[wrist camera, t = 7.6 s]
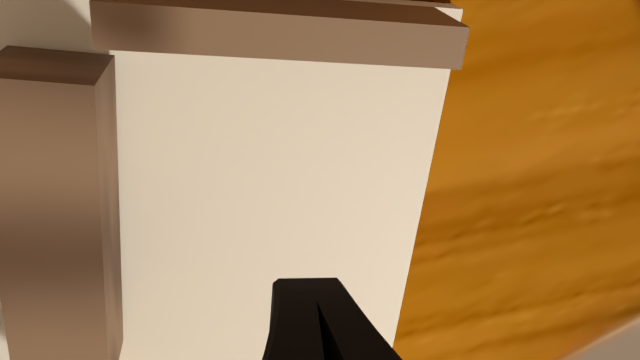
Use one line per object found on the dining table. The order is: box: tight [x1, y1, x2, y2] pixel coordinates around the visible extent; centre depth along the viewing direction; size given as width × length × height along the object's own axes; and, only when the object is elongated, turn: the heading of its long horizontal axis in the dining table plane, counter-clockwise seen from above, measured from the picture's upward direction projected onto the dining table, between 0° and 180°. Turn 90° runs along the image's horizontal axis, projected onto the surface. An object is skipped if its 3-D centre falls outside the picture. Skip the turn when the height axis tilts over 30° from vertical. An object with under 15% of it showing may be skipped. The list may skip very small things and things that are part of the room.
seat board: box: [0, 0, 470, 360], centre depth 19 cm, size 18×18×4 cm
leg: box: [0, 45, 123, 360], centre depth 18 cm, size 12×3×3 cm, turn 172°
